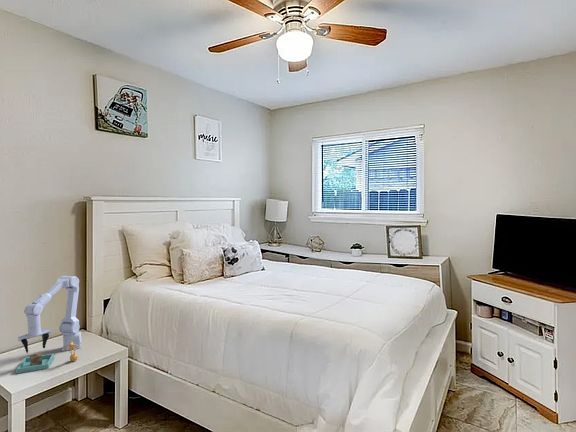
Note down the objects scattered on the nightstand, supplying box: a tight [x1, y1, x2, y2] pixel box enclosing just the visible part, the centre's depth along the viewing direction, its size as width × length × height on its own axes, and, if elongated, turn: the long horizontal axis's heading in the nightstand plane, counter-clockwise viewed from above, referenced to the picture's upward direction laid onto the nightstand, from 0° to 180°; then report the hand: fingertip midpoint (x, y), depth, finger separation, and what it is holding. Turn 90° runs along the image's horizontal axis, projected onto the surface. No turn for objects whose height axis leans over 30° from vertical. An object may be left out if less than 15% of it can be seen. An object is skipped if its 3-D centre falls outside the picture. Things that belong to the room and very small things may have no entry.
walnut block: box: [29, 352, 43, 366], centre depth 195 cm, size 4×4×5 cm
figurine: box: [64, 341, 81, 362], centre depth 199 cm, size 8×6×12 cm
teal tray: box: [15, 353, 55, 375], centre depth 195 cm, size 14×14×2 cm
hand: (35, 349), depth 195 cm, fingers open, 7 cm apart
